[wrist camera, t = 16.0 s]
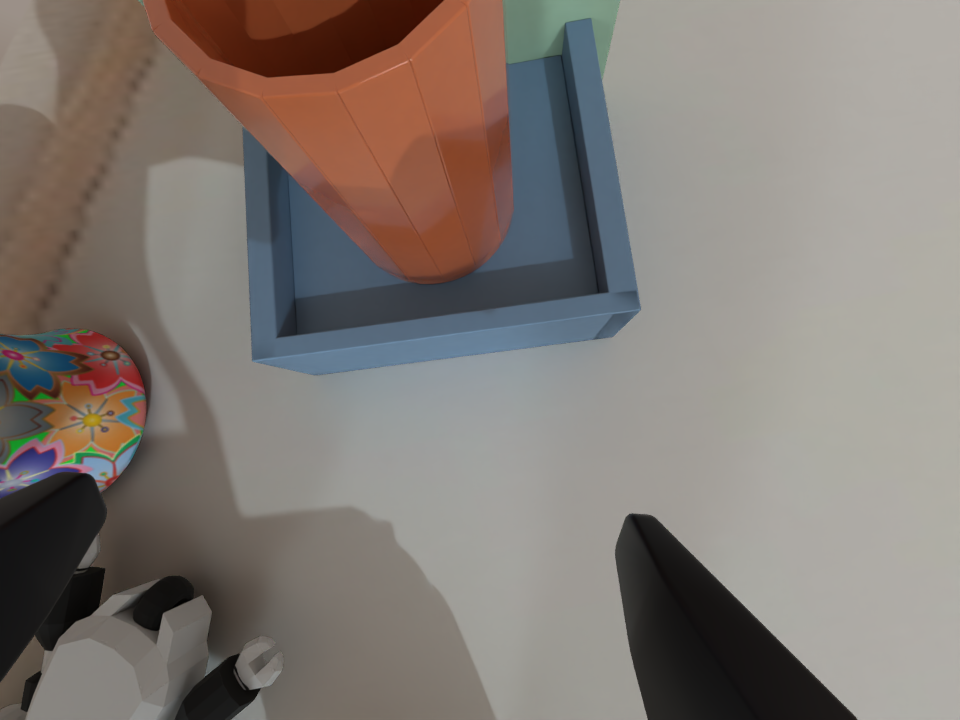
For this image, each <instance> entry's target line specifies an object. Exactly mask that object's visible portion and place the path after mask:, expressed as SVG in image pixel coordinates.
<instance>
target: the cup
mask: <svg viewBox="0 0 960 720" xmlns="http://www.w3.org/2000/svg"><path fill="white" fill-rule="evenodd" d="M143 4H144V7H145V10H146V13H147V16H148V19H149V22H150V25H151V29H152V31H153V32H154V34H155V36H156V37H157V38H158V39H159V40H160V41H161V42H162V43H163V44H164V45H165V46H166V47H167V48H168V49H169V50H170V51H171V52H172V53H173V54H174V55H175V56H176V57H177V59H178V60H179V61H180V62H181V63H182V64H183V65H184V66H185V67H186V68H187V69H188V70H189V71H190V72H191V73H192V74H193V75H194V76H195V77H196V78H197V79H198V80H199V81H200V83H201V84H202V85H203V86H204V87H205V88H206V89H207V90H208V91H209V92H210V93H211V94H212V95H213V96H214V97H215V98H216V99H217V100H218V101H219V102H220V103H221V104H222V105H223V107H224V108H225V109H226V110H227V111H228V112H229V113H230V114H231V115H232V116H233V117H234V118H235V119H236V120H237V121H238V122H239V123H240V124H241V125H242V126H243V127H244V128H245V129H246V131H247V132H248V133H249V134H250V135H251V136H252V137H253V138H254V139H255V140H256V141H257V142H258V143H259V144H260V145H261V146H262V147H263V148H264V149H265V150H266V151H267V152H268V153H269V155H270V156H271V157H272V158H273V159H274V160H275V161H276V162H277V163H278V164H279V165H280V166H281V167H282V168H283V169H284V170H285V171H286V172H287V173H288V174H289V175H290V176H291V177H292V179H293V180H294V181H295V182H296V183H297V184H298V185H299V186H300V187H301V188H302V189H303V190H304V191H305V192H306V193H307V194H308V195H309V196H310V197H311V198H312V199H313V200H314V202H315V203H316V204H317V205H318V206H319V207H320V208H321V209H322V210H323V211H324V212H325V213H326V214H327V215H328V216H329V217H330V218H331V219H332V220H333V221H334V222H335V223H336V224H337V226H338V227H339V228H340V229H341V230H342V231H343V232H344V233H345V234H346V235H347V236H348V237H349V238H350V239H351V240H352V241H353V242H354V243H355V244H356V245H357V246H358V247H359V248H360V249H361V250H362V251H363V252H364V253H365V254H366V255H367V256H368V257H369V259H370V260H371V261H372V262H373V263H374V264H375V265H376V266H377V267H379V268H380V269H382V270H383V271H385V272H386V273H388V274H389V275H391V276H394V277H396V278H398V279H400V280H404V281H407V282H411V283H417V284H440V283H445V282H450V281H453V280H456V279H459V278H462V277H464V276H466V275H468V274H470V273H472V272H473V271H475V270H476V269H478V268H479V267H481V266H482V265H483V264H484V263H485V262H487V261H488V260H489V259H490V258H491V257H492V256H493V254H494V253H495V252H496V251H497V250H498V248H499V247H500V245H501V244H502V242H503V241H504V239H505V237H506V235H507V233H508V230H509V227H510V225H511V221H512V217H513V211H514V173H513V152H512V131H511V110H510V89H509V67H508V46H507V25H506V4H505V0H143Z"/></svg>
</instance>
